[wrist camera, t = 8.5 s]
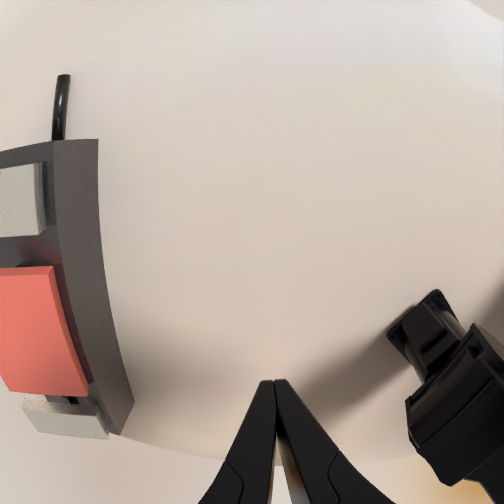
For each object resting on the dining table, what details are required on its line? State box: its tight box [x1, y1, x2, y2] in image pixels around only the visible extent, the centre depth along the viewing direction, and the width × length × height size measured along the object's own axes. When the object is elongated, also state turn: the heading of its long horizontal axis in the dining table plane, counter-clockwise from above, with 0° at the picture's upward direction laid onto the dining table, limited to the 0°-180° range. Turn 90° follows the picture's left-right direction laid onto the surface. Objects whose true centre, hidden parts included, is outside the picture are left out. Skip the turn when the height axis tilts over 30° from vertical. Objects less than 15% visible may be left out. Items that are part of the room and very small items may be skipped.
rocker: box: [0, 266, 89, 396], centre depth 16 cm, size 9×12×1 cm
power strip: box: [0, 74, 135, 439], centre depth 18 cm, size 10×35×10 cm, turn 176°
